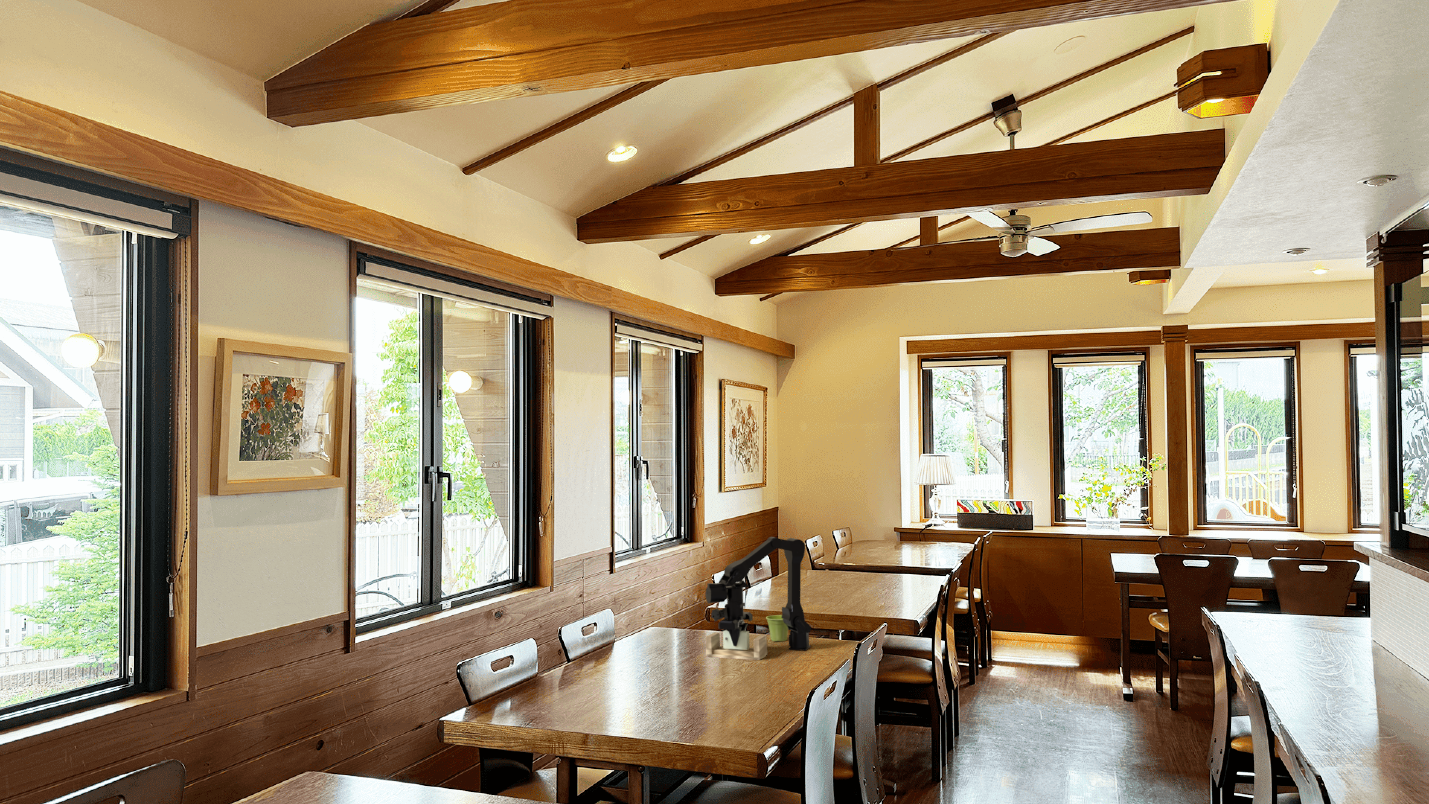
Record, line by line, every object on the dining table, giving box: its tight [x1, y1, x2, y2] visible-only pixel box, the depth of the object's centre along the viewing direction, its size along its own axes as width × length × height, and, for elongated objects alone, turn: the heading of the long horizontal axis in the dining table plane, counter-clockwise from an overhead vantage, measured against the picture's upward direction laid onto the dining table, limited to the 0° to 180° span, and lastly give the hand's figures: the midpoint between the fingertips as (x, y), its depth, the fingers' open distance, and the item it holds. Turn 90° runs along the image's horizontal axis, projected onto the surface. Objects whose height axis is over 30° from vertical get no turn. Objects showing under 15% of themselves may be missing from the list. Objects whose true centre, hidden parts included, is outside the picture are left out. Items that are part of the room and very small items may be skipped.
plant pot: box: [765, 614, 789, 642], centre depth 343 cm, size 9×9×9 cm
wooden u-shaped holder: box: [705, 631, 768, 661], centre depth 319 cm, size 20×8×7 cm, turn 67°
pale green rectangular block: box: [722, 629, 751, 650], centre depth 319 cm, size 9×3×6 cm, turn 67°
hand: (736, 645), depth 319 cm, fingers closed on pale green rectangular block, 2 cm apart
